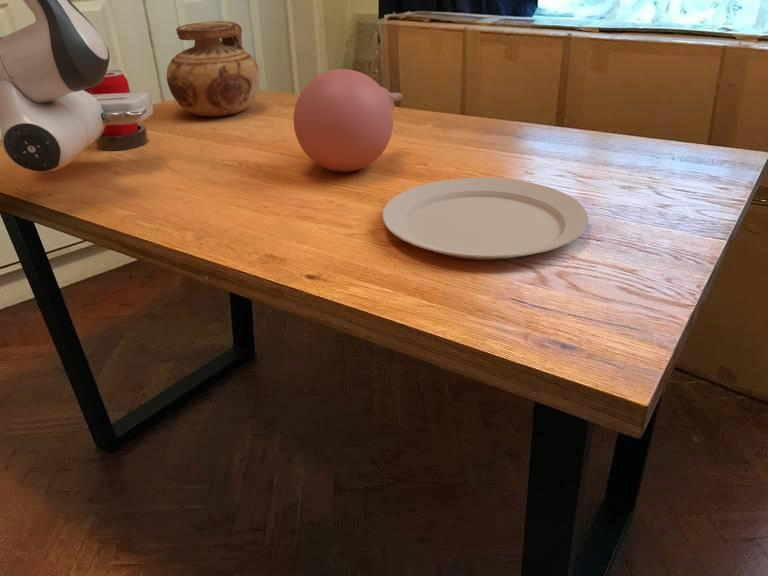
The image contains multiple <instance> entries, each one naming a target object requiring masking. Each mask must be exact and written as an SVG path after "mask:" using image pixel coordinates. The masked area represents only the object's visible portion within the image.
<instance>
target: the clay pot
mask: <svg viewBox="0 0 768 576" xmlns="http://www.w3.org/2000/svg"><path fill="white" fill-rule="evenodd" d="M175 31H176V35H177V37H178V39H179V40H182V41H194V44H193V45H194V46H192V47H189V48H187V49H184V50H182V51H181V52H179V53H177V54H176V55H175V56H173V58H171V60H170V62H169V64H168V66H167V69H166V82H167V86H168V89H169V90H170V93H171V95H172V97H173V98H174V100H175V101H176V102H177V104H178V105H179V106H180V107H181V108H182V109H183V110H185V111H187V112H188V113H190V114H193V115H196V116H201V117H207V118H219V117H226V116H231V115H235V114H238V113H240V112H242V111H244V110H245V109H247V108H248V107H250V106H251V104H252V103H253V101H254V100H255V99H256V96H257V93H258V89H259V85H260V77H261V76H260V75H261V73H260V67H259V64H258V63H257V61H256V59H255V58H254V57H253V56H252V55H251V54H250V53H248V52H247V51H246V50H245V49H244V47H243V39H242V36H243V35H242V31H243V30H242V27H241V25H240V24H239V23H237V22H233V21H227V20H221V21H219V20H218V21H217V20H213V21H211V20H210V21H209V20H208V21H202V22H193V23H187V24H183V25H180V26H177V28H176V29H175Z"/></svg>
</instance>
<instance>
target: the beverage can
mask: <svg viewBox="0 0 768 576" xmlns="http://www.w3.org/2000/svg"><path fill="white" fill-rule="evenodd" d="M128 81H129V80H128V79H127V77H126V76H125V75H124V72H123V71H122V70H120V69H107V72H106V74H105V77H104V79H103V80H102V82H101V84H99V85H97V86H94V87H92V91H93V95H95V94H115V93H127V92H131V91H130V86H129V82H128ZM137 124H138V123H133V124H119V125H105V129H104V131H103V136H120V135H126V134H131V133H134V132H137V131H138V126H137Z"/></svg>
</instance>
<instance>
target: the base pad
mask: <svg viewBox="0 0 768 576" xmlns="http://www.w3.org/2000/svg"><path fill="white" fill-rule="evenodd" d="M137 126H138V131H137V132H134V133H131V134H126V135H120V136H103V133H102V135H101V136H100V137H99V138H98V139H97V140H96V141H95V142H94V143H95V146H96V148H97V149H98V150H100V151H106V152H114V151H115V152H116V151H118V152H119V151H127V150H131V149H136V148H139V147H141V146H144V145H146V144H147V143H148V142H149V137H148V132H147V126H146V125H144V124H140V123H137Z"/></svg>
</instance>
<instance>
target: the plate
mask: <svg viewBox="0 0 768 576" xmlns="http://www.w3.org/2000/svg"><path fill="white" fill-rule="evenodd" d="M589 220H590V219H589V216H588V212H587V210H586V209H585V207H584V206H583V205H582V203H580V202H579V201H578V200H576V199H575V198H573V196H570V195H569V194H568V193H567V194H566V193H565V192H563V191H560V190H558V189H555V188H552V187H549V186H546V185H542V184H538V183H534V182H529V181H524V180H518V179H511V178H510V179H509V178H500V177H499V178H497V177H463V178H450V179H442V180H438V181H432V182H429V183H424V184H421V185H417V186H413V187H411V188H409V189H406V190H404V191H403V192H400V193H399V194H396V195H395V196H394V197H392V198H391V199H390V200H388V202H387V203H386V204H385V206H384V208H383V211H382V222H383V225H384V226H385V228H386V229H387V230H388V231H389V232H390V233H392V235H394V236H395V237H397V238H398V239H400V240H402V241H404V242H406V243H408V244H410V245H413V246H414V247H418V248H421V249H425V250H428V251H432V252H434V253H437V254H441V255H445V256H448V257H452V258H459V259H465V260H476V261H477V260H478V261H499V260H509V259H516V258H522V257H526V256H531V255H534V254H539V253H544V252H548V251H552V250H556V249H557V248H561V247H563V246H566V245H567V244H570V243H571V242H573V241H575V240H576V239H578V238H579V237H580V236H582V235H583V234H584V232H586V229H587V227H588V225H589Z"/></svg>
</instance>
